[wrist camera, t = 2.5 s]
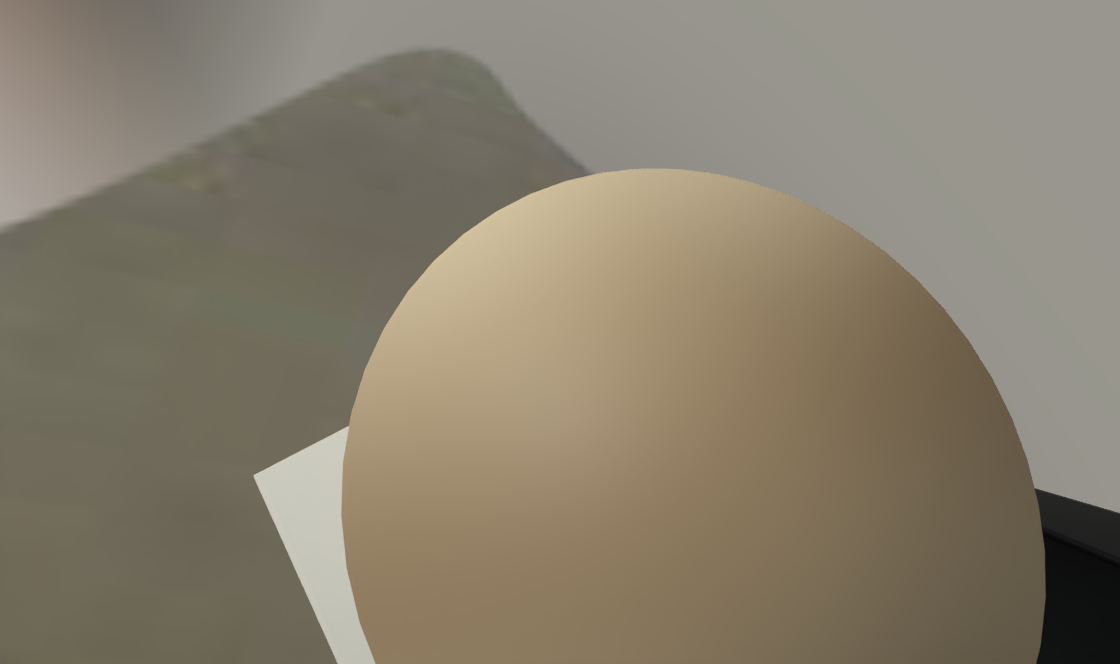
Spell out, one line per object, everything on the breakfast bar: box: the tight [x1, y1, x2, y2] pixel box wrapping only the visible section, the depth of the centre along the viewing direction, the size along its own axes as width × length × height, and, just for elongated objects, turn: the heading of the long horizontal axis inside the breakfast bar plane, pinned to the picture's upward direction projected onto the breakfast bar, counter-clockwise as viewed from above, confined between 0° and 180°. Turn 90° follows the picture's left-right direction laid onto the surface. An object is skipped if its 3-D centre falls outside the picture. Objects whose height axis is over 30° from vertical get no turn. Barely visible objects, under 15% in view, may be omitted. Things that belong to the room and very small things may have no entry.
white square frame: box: [253, 426, 375, 664], centre depth 15 cm, size 9×9×3 cm
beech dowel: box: [341, 169, 1046, 664], centre depth 10 cm, size 5×5×13 cm
